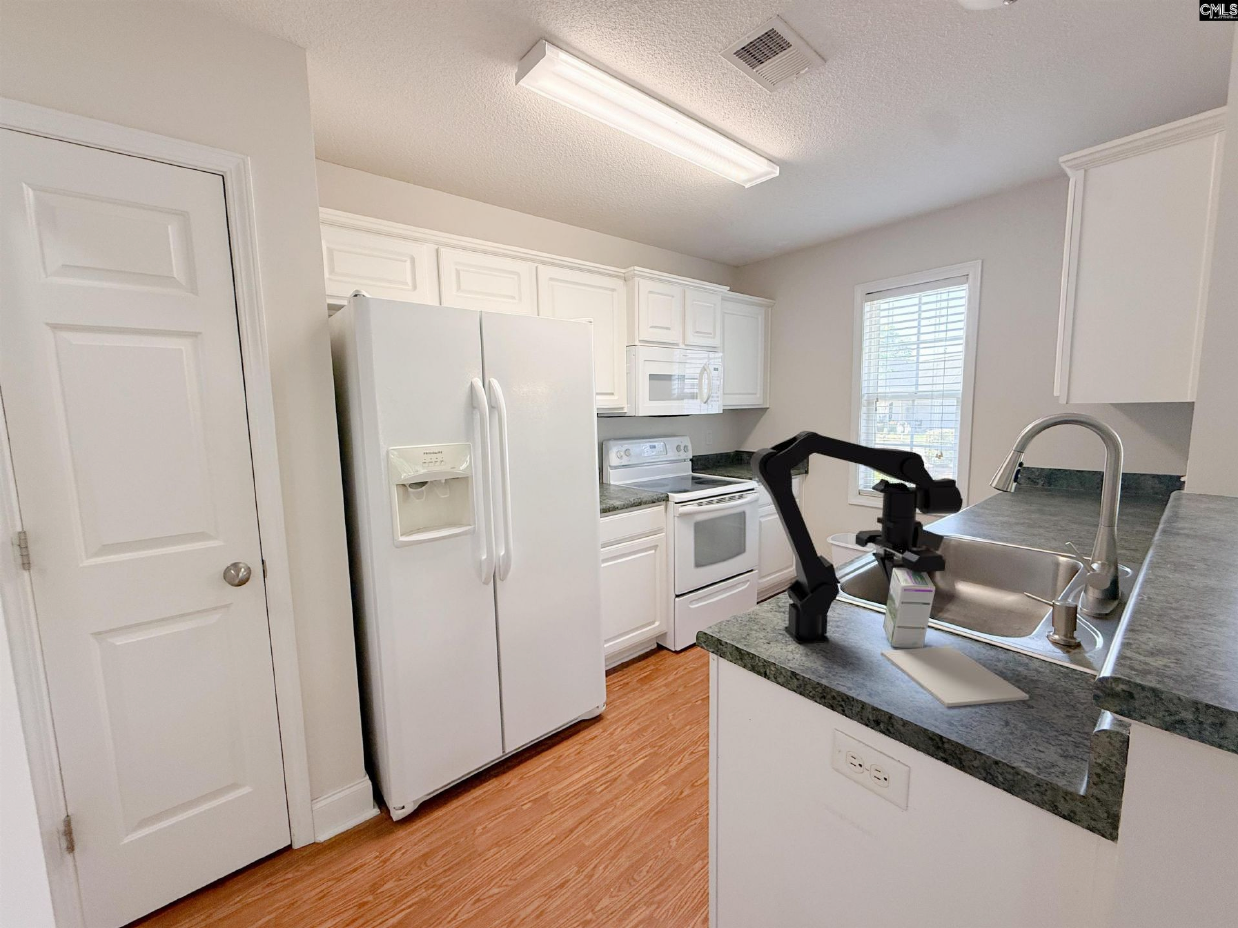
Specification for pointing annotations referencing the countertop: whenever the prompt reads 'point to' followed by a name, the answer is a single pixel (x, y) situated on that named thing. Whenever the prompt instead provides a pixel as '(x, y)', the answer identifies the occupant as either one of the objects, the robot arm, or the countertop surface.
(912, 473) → the robot arm
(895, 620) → the syrup box
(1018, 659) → the countertop surface
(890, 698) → the countertop surface
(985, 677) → the rubber mat
